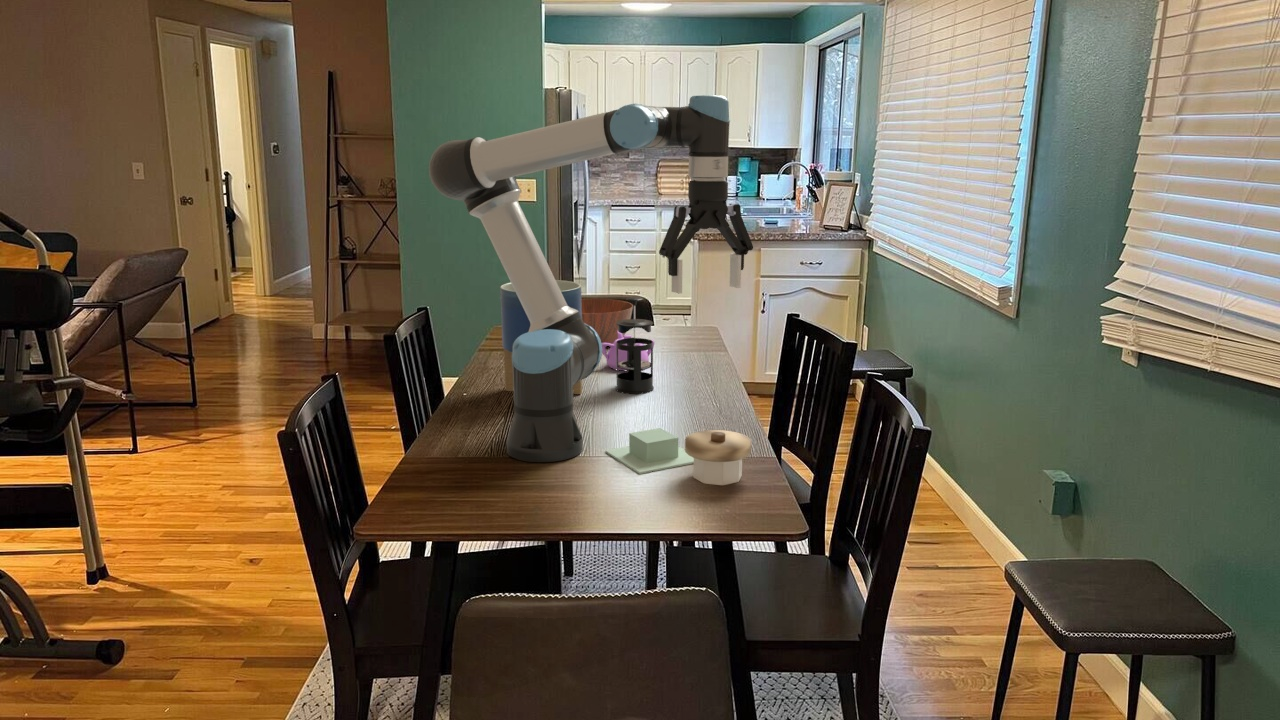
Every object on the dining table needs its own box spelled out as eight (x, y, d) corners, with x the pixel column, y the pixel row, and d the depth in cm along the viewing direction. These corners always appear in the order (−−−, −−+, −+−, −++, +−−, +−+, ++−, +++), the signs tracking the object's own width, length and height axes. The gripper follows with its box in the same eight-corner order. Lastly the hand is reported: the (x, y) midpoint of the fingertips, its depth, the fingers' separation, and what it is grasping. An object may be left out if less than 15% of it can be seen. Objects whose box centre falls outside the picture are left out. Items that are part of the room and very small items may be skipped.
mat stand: (639, 474, 172) (639, 451, 171) (605, 452, 184) (605, 431, 183) (703, 461, 179) (703, 439, 178) (666, 441, 190) (666, 420, 189)
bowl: (561, 333, 295) (560, 297, 292) (638, 335, 291) (638, 299, 289) (542, 350, 271) (541, 312, 268) (626, 353, 267) (626, 314, 265)
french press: (657, 393, 225) (657, 300, 220) (618, 395, 224) (618, 301, 218) (648, 381, 237) (649, 292, 231) (612, 383, 235) (611, 293, 230)
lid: (708, 466, 162) (708, 448, 161) (672, 446, 172) (673, 430, 171) (764, 454, 167) (764, 438, 167) (726, 436, 178) (726, 420, 177)
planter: (519, 380, 238) (515, 278, 232) (591, 384, 234) (590, 280, 228) (492, 400, 220) (488, 290, 214) (570, 405, 216) (568, 293, 210)
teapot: (618, 359, 260) (618, 328, 258) (661, 366, 253) (661, 334, 251) (595, 368, 250) (594, 336, 248) (639, 375, 243) (639, 342, 241)
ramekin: (711, 487, 165) (711, 461, 164) (686, 473, 172) (686, 447, 171) (749, 479, 169) (750, 453, 168) (723, 465, 176) (724, 440, 175)
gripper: (661, 181, 167) (661, 297, 172) (772, 178, 179) (769, 287, 184) (641, 180, 174) (641, 292, 179) (750, 177, 186) (747, 282, 191)
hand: (706, 289), depth 182 cm, fingers open, 13 cm apart
